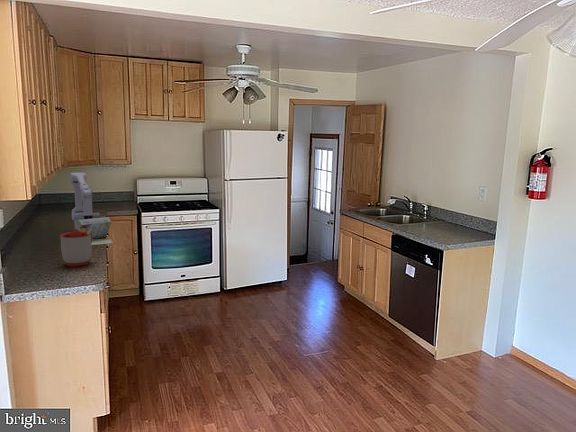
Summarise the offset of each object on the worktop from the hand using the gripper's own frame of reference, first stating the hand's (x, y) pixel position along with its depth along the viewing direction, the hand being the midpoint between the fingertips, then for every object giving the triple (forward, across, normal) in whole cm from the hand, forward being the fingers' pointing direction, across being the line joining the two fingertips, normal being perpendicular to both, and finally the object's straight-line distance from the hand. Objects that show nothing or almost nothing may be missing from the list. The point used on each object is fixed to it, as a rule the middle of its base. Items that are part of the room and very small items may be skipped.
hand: (88, 226), depth 307 cm
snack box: (+7, 0, -1) cm, 7 cm away
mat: (+8, 0, -12) cm, 15 cm away
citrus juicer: (+9, -10, -64) cm, 66 cm away
